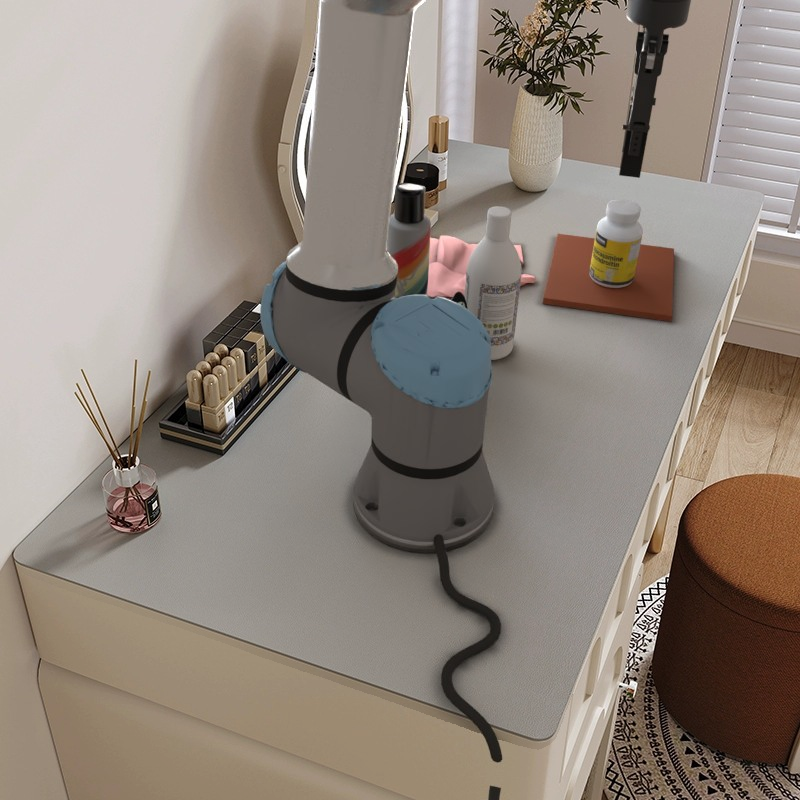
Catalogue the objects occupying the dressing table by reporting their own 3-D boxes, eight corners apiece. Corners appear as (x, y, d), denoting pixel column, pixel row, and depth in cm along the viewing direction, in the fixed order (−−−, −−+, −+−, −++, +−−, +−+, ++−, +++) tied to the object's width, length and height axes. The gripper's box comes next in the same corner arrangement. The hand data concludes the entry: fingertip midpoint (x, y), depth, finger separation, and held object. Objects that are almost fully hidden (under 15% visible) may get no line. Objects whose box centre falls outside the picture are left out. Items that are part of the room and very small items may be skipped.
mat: (671, 321, 143) (672, 315, 143) (542, 303, 146) (543, 297, 146) (673, 254, 159) (674, 248, 158) (556, 238, 162) (557, 233, 161)
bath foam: (523, 350, 137) (540, 213, 125) (485, 368, 133) (498, 229, 121) (488, 327, 141) (500, 193, 129) (450, 344, 137) (459, 208, 125)
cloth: (370, 278, 151) (370, 263, 149) (447, 222, 165) (448, 208, 164) (491, 322, 142) (492, 307, 140) (561, 259, 157) (563, 245, 155)
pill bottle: (580, 273, 151) (591, 201, 144) (615, 264, 154) (628, 192, 147) (606, 294, 147) (619, 220, 140) (642, 284, 149) (656, 211, 142)
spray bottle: (379, 325, 141) (381, 190, 128) (392, 304, 145) (396, 172, 133) (418, 333, 139) (424, 198, 127) (431, 312, 143) (438, 180, 131)
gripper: (693, 15, 117) (657, 198, 131) (692, -31, 133) (660, 138, 147) (626, 8, 118) (597, 191, 132) (634, -36, 134) (607, 132, 148)
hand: (630, 163), depth 139 cm, fingers open, 7 cm apart
